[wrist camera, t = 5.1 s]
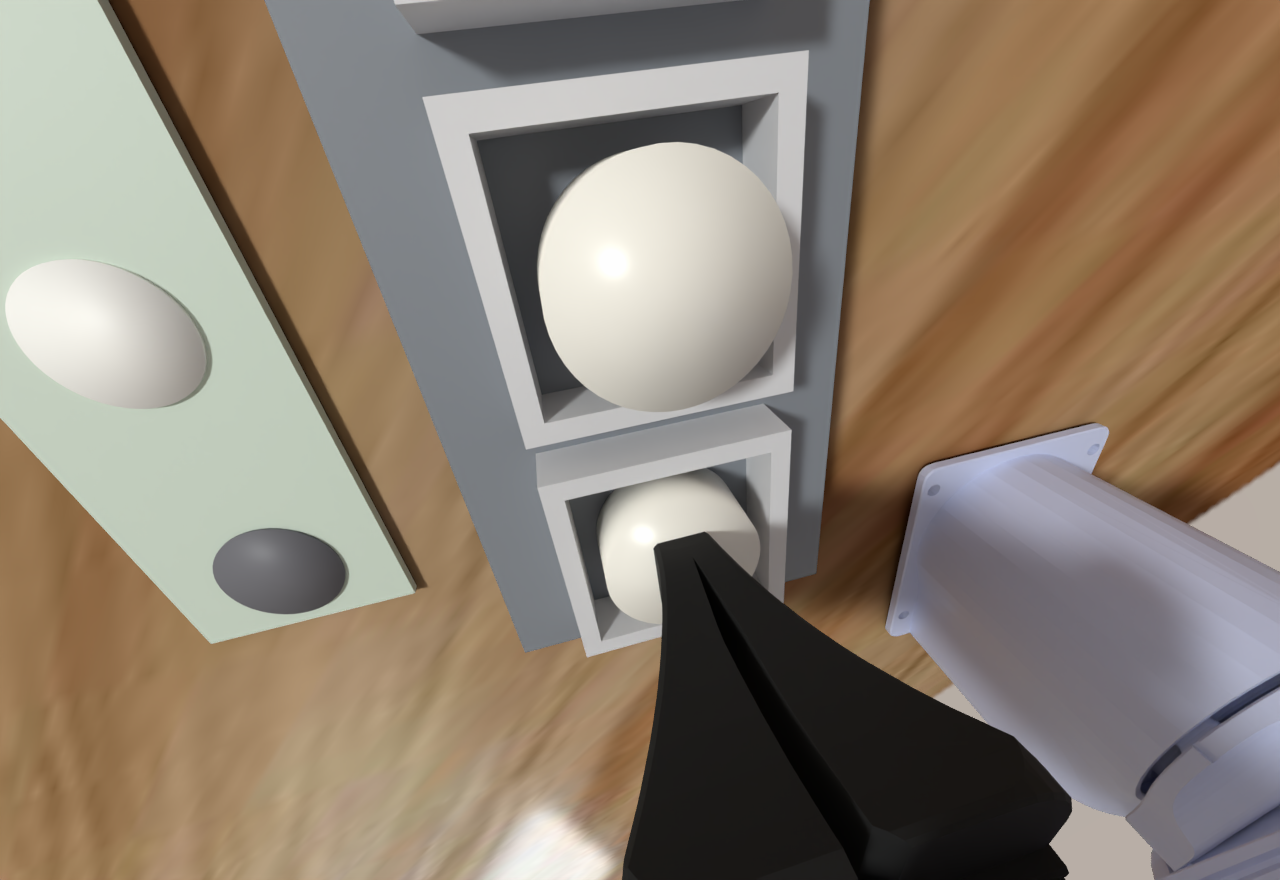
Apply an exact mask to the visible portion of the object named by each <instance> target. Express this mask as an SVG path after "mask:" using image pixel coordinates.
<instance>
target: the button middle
mask: <svg viewBox="0 0 1280 880" xmlns="http://www.w3.org/2000/svg"><path fill="white" fill-rule="evenodd" d="M537 279H538V285H539V292H540V298H541V304H542V310H543V316H544V321H545V324H546V327H547V331H548V334H549V337H550V339H551V341H552V343H553V346H554V348H555V350H556V352H557V353H558V355H559V357H560V358H561V360H562V361H563V363H564V365H565V366H566V367H567V368H568V369H569V371H570V372H571V373H572V374H573V375H574V377H575V378H576V379H578V380H579V381H580V382H581V383H582V384H583V385H584V386H585V387H586V388H588V389H589V390H591V391H592V392H593V393H595V394H596V395H598V396H599V397H601V398H603V399H605V400H607V401H609V402H611V403H613V404H616V405H619V406H622V407H624V408H628V409H633V410H638V411H646V412H670V411H676V410H683V409H686V408H690V407H694V406H697V405H699V404H702V403H704V402H707V401H709V400H711V399H713V398H715V397H717V396H719V395H721V394H722V393H724V392H725V391H727V390H728V389H730V388H731V387H733V386H734V385H735V384H737V383H738V382H739V381H740V380H741V379H742V378H744V377H745V376H746V375H747V374H748V373H749V372H750V371H751V370H752V369H753V368H754V366H755V365H756V364H757V363H758V362H759V361H760V359H761V358H762V357H763V355H764V354H765V353H766V351H767V350H768V348H769V346H770V345H771V343H772V341H773V340H774V338H775V336H776V334H777V332H778V330H779V328H780V325H781V323H782V321H783V318H784V315H785V312H786V309H787V305H788V301H789V296H790V291H791V283H792V251H791V244H790V238H789V234H788V231H787V227H786V223H785V221H784V218H783V216H782V214H781V211H780V209H779V206H778V205H777V203H776V201H775V200H774V198H773V196H772V195H771V193H770V191H769V190H768V189H767V188H766V186H765V185H764V184H763V183H762V181H761V180H760V179H759V178H758V177H757V176H756V175H755V174H754V173H753V172H752V171H751V170H749V169H748V168H747V167H746V166H745V165H743V164H742V163H740V162H739V161H737V160H736V159H734V158H733V157H731V156H729V155H727V154H725V153H723V152H721V151H718V150H716V149H714V148H710V147H706V146H703V145H699V144H693V143H683V142H670V143H658V144H653V145H649V146H644V147H640V148H636V149H632V150H628V151H624V152H621V153H617V154H614V155H612V156H609V157H607V158H604V159H602V160H600V161H598V162H596V163H595V164H593V165H591V166H590V167H588V168H587V169H585V170H584V171H583V172H582V173H580V174H579V175H578V176H577V177H575V178H574V179H573V181H572V182H571V183H570V184H569V185H568V186H567V187H566V188H565V189H564V190H563V192H562V193H561V195H560V196H559V197H558V199H557V200H556V202H555V203H554V205H553V207H552V209H551V211H550V213H549V215H548V217H547V219H546V222H545V225H544V227H543V230H542V234H541V238H540V242H539V247H538V257H537Z"/></svg>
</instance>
